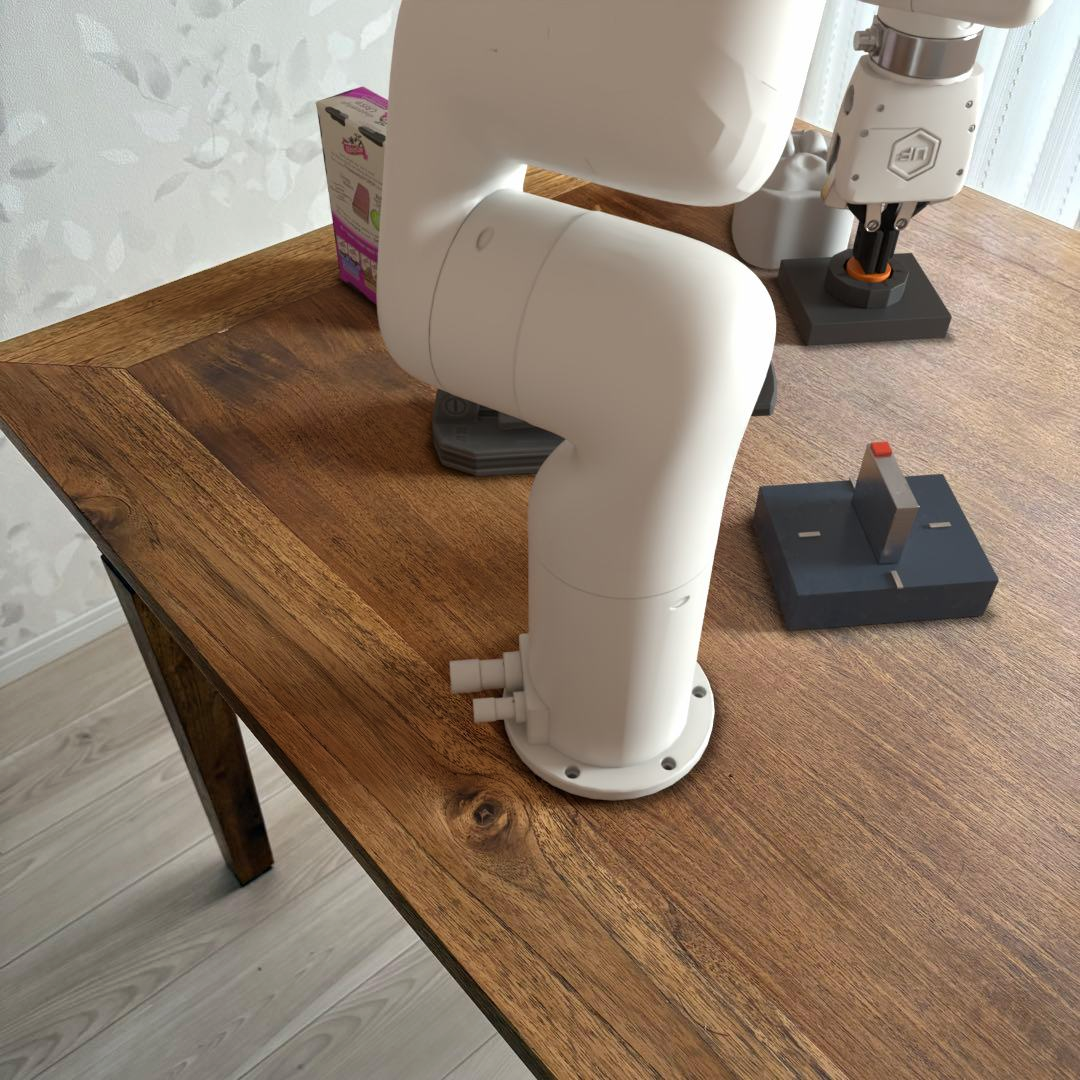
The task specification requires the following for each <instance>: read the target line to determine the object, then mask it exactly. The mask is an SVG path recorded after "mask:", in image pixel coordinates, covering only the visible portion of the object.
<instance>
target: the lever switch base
mask: <svg viewBox="0 0 1080 1080" xmlns="http://www.w3.org/2000/svg"><path fill="white" fill-rule="evenodd" d="M904 477H905V479H906V481H907V483H908V485H909V487H910V489H911V491H912V494H913V496H914V498H915V500H916V502H917V504H918V506H919V508H918V511H917V514H916V516H915V519H914V522H913V525H912V528H911V531H910V534H909V537H908V539H907V542H906V545H905V548H904V551H903V554H902V557H901V560H900V562H899V563H886V564H879V563H878V561H877V558H876V556H875V554H874V551H873V549H872V547H871V544H870V542H869V540H868V537H867V535H866V533H865V530H864V528H863V526H862V523H861V521H860V519H859V516H858V514H857V511H856V509H855V507H854V504H853V502H852V496H853V492H854V489H855V485H856V482H857V479H856V478H855V476H849V477H848V480H847V479H846V480H832V481H819V482H816V481H815V482H803V483H789V484H787V483H785V484H774V485H773V484H772V485H761V486H759V487H758V491H757V492H758V493H757V497H756V500H755V501H756V502H755V506H754V512H753V517H752V520H751V521H752V522H751V523H752V526H753V529H754V531H755V534H756V537H757V540H758V543H759V547H760V549H761V552H762V555H763V559H764V562H765V564H766V567H767V571H768V574H769V577H770V579H771V582H772V585H773V588H774V592H775V594H776V597H777V600H778V604H779V606H780V609H781V612H782V614H783V615H782V616H783V618H784V622H785V623H786V627H787V630H788V632H792V631H804V630H818V629H819V630H820V629H830V628H831V629H832V628H842V627H844V628H845V627H855V626H856V627H857V626H868V625H870V626H871V625H880V624H881V625H882V624H894V623H895V624H896V623H906V622H908V623H909V622H918V621H919V622H920V621H932V620H943V619H944V620H945V619H956V618H970V617H972V618H973V617H982V616H985V613H986V611H987V608H988V606H989V604H990V601H991V599H992V597H993V594H994V592H995V590H996V588H997V586H998V584H999V581H1000V579H999V577H998V574H997V573H996V572H995V570H994V568H993V565H992V564H991V562H990V560H989V557H988V556H987V554H986V551H985V550H984V548H983V547H982V545H981V543H980V541H979V539H978V537H977V535H976V533H975V532H974V530H973V528H972V526H971V524H970V522H969V520H968V518H967V516H966V515H965V512H964V510H963V509H962V507H961V505H960V503H959V501H958V500H957V497H956V496H955V494H954V492H953V490H952V487H951V486H950V484H949V483H948V480H947V478H946V477H945V475H944V474H943V473H936V474H933V473H932V474H920V475H906V476H905V475H904Z"/></svg>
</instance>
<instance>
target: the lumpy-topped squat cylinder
mask: <svg viewBox="0 0 1080 1080" xmlns="http://www.w3.org/2000/svg"><path fill="white" fill-rule="evenodd" d="M830 143H831V139H829V138H827V137H824V136H823V134H822V133H821V132H820V131H818V130H817V129H816V130H815V129H810V130H809V129H808V130H806V129H802V130H801V129H800V130H799V129H791V131H790V134H789V137H788V139H787V142H786V145H785V148H784V150H783V153H782V155H781V157H780V159H779V161H778V163H777V165H776V167H775V169H774V171H773V172H772V174H771V175H770V177H769V178H768V179H767V180H766V182H765V183H764V184H763V185H762V186H761V188H760V189H759V190H758V191H756V192H755V193H753V194H752V195H750V196H749V197H747V198H746V199H744V200H743V201H740V202H736V203H734V207H733V214H732V220H731V234H732V235H731V236H732V240H733V243H734V245H735V248H736V251H737V254H738V255H739V256H740V258H741V259H742V260H744V262H746V263H748V264H749V265H751V266H754V267H756V268H760V269H766V270H779V268H780V263H781V260H784V259H803V258H822V257H833V255H835V254H837V253H839V252H842V251H844V250H846V249H848V246H849V242H850V237H851V233H852V229H853V225H854V220H855V216H854V215H853V214H852V212H851V211H850V210H846V209H844V210H842V209H837V208H832V207H827V206H826V205H825V204H824V202H823V201H822V199H821V197H820V193H821V191H822V189H823V187H824V184H825V182H826V180H827V178H828V175H827V173H826V163H827V156H828V151H829V147H830Z"/></svg>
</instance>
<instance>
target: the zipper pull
mask: <svg viewBox="0 0 1080 1080" xmlns="http://www.w3.org/2000/svg"><path fill="white" fill-rule="evenodd" d="M436 389H437V390H436V395H435V399H434V405H433V409H432V410H433V412H432V418H431V425H432V426H431V427H432V428H431V429H432V438H433V444H434V447H435V450H436V453H437V455H438V458H439V460H440V463H441V464H442V466H444V467H446V468H450V469H453V470H456V471H460V472H463V473H466V474H468V475H469V474H470V475H471V476H475V477H485V476H487V477H489V476H501V475H502V476H503V475H505V476H506V475H519V474H521V475H523V474H537V473H538V471H539V469H540V467H541V466H542V464H543V463H544V461H545V460H546V459H547V458H548V456H549V455H550V454H551V453H552V452H553V451H554V450H555V449H556V448H557V447H558V446H559V445H560V444H561V443H562V442H563V441H564V440H565V438H563V437H561V436H559V435H557V434H555V433H552V432H550V431H547V430H545V429H542V428H539V427H537V426H534V425H531V424H529V423H528V422H527V421H524V420H521V419H519V418H516V417H513V416H510V415H508V414H505V413H502V412H499V411H497V410H494V409H491V408H488V407H486V406H483V405H480V404H477V403H474V402H472V401H469V400H466V399H463V398H461V397H458V396H455V395H452V394H450V393H448V392H446V391H443V390H440V389H438V388H436ZM777 400H778V380H777V375H776V369H775V366H774V363H773V360H772V359H771V361H770V364H769V368H768V371H767V374H766V378H765V381H764V383H763V386H762V388H761V391H760V394H759V396H758V399H757V401H756V404H755V406H754V409H753V412H752V414H751V417H771V416H772V415H773V414H774V413H775V408H776V405H777ZM751 417H750V418H751Z"/></svg>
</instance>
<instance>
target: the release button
mask: <svg viewBox="0 0 1080 1080" xmlns="http://www.w3.org/2000/svg"><path fill="white" fill-rule="evenodd" d="M890 271H891V268H890V265H889V264H887V268H886V272H885V273H883V274H878V273H877V272H873V274H865V272H864V271H863V269H862V267H861V265H860V263H859V262H858V260H855V258H854V257H852V258H851V259H850V260H849V261H848V263H847V267H846V273H847V274H848V275H849V276H851V277H853V278H854V279H856V280H860V281H864V282H868V283H873V282H884V281H886V280H888V278H889V275H890Z"/></svg>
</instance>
